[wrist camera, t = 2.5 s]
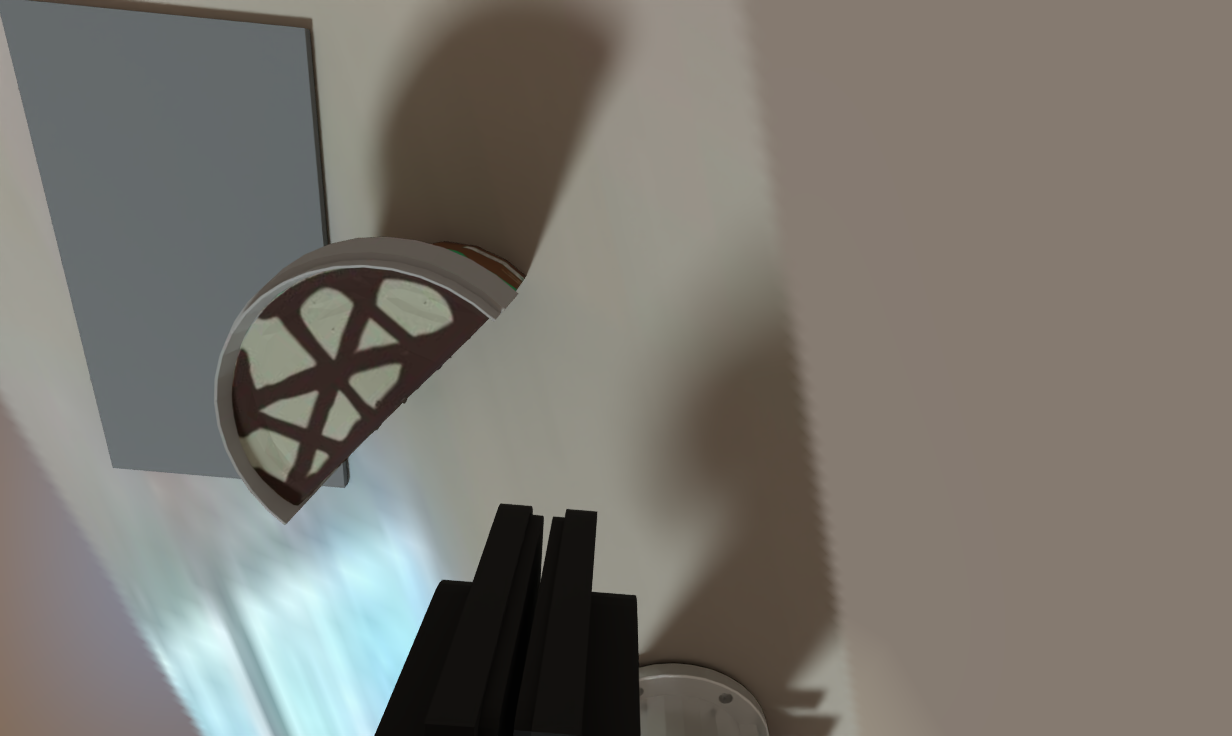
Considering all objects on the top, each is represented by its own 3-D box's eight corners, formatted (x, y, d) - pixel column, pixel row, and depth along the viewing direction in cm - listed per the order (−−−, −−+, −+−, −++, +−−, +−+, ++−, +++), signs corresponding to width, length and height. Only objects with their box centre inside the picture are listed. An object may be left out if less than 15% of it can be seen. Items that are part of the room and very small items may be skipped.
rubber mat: (309, 29, 24) (304, 28, 24) (347, 484, 32) (344, 487, 31) (6, -1, 24) (-4, -3, 23) (118, 463, 32) (112, 467, 31)
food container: (449, 153, 26) (348, 154, 16) (548, 255, 27) (507, 308, 18) (288, 334, 29) (124, 421, 19) (384, 416, 30) (276, 534, 21)
